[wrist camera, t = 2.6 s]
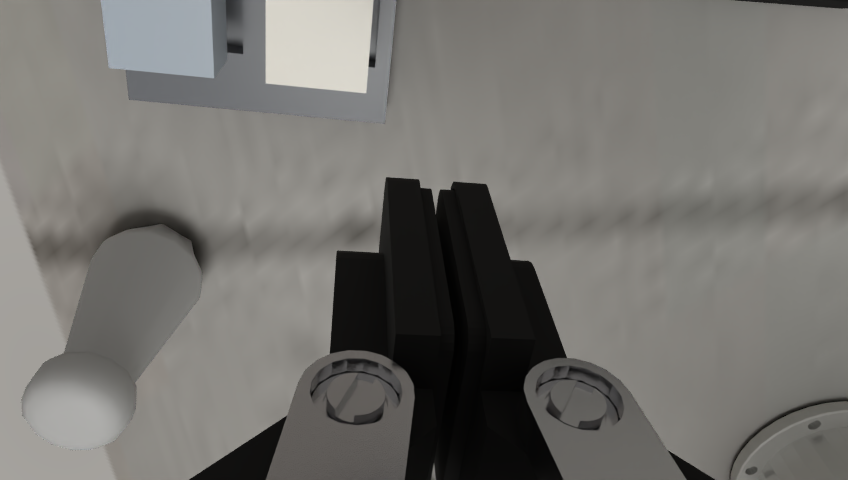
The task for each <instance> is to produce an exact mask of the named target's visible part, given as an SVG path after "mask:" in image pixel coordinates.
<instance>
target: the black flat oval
mask: <svg viewBox="0 0 848 480" xmlns="http://www.w3.org/2000/svg"><path fill="white" fill-rule="evenodd" d="M737 1H750V2H763V3H777V4H790V5H803V6H816V7H829V8H848V0H737Z"/></svg>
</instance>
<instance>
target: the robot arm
mask: <svg viewBox="0 0 848 480" xmlns="http://www.w3.org/2000/svg"><path fill="white" fill-rule="evenodd" d="M433 466H435V476H436V480H715V479H713V478H712V477H710V476H708V475H707V474H705V473H703V472H702V471H700V470H699V469H697V468H695V467H694V466H692V465H691V464H689V463H687V462H686V461H684V460H682V459H681V458H679V457H678V456H676V455H674V454H673V453H671V452H670V451H668V450H667V449H666V447H665V446H664V444H663V442H662V441H661V439H660V438H659V436H658V435H657V433H656V432H655V430H654V428H653V427H652V425H651V424H650V422H649V421H648V419H647V418H646V416H645V414H644V413H643V411H642V410H641V408H640V407H639V405H638V404H637V402H636V400H635V399H634V397H633V396H632V394H631V393H630V391H629V390H628V389H627V388H626V387H625V385H624V384H623V383H622V382H621V381H620V380H619V379H618V378H616V377H615V376H614V375H612V374H611V373H610V372H608V371H607V370H605V369H603V368H601V367H599V366H597V365H594V364H592V363H590V362H586V361H582V360H578V359H571V358H567V357H566V354H565V351H564V349H563V346H562V343H561V340H560V338H559V335H558V332H557V329H556V327H555V324H554V321H553V318H552V316H551V313H550V310H549V307H548V304H547V302H546V299H545V296H544V293H543V291H542V288H541V285H540V282H539V280H538V277H537V274H536V271H535V269H534V267H533V265H532V263H531V262H529V261H519V260H510V256H509V253H508V250H507V247H506V244H505V241H504V238H503V234H502V231H501V228H500V225H499V222H498V219H497V215H496V212H495V209H494V206H493V203H492V200H491V196H490V193H489V190H488V187H487V185H486V184H477V183H462V182H453V184H452V186H451V190H440V192H439V196H438V203H437V210H436V214H435V208H434V202H433V196H432V190H431V189H426V188H420V182H419V180H418V179H403V178H389V177H386V182H385V190H384V201H383V212H382V223H381V234H380V244H379V253H371V252H353V251H337V256H336V271H335V286H334V301H333V316H332V331H331V346H330V354H329V355H327V356H325V357H322V358H320V359H318V360H316V361H315V362H314V363H313V364H311V365H310V366H309V367H308V368H307V369H306V370H305V371H304V373H303V375H302V376H301V378H300V380H299V382H298V385H297V388H296V391H295V394H294V397H293V400H292V403H291V406H290V409H289V412H288V415H287V416H286V417H284V418H283V419H281V420H280V421H278V422H277V423H275V424H274V425H272V426H270V427H269V428H267V429H266V430H264V431H263V432H261V433H260V434H258V435H257V436H255V437H254V438H252V439H251V440H249V441H248V442H246V443H245V444H243V445H241V446H240V447H238V448H237V449H235V450H234V451H232V452H231V453H229V454H228V455H226V456H225V457H223V458H222V459H220V460H219V461H217V462H216V463H214V464H212V465H211V466H209V467H208V468H206V469H205V470H203V471H202V472H200V473H199V474H197V475H196V476H194V477H193V478H191V479H190V480H431V477H432V471H433ZM731 480H848V401H842V402H831V403H824V404H819V405H815V406H810V407H807V408H804V409H801V410H799V411H796V412H793V413H791V414H789V415H787V416H785V417H783V418H780V419H778V420H776V421H775V422H773V423H772V424H770V425H769V426H767V427H766V428H764V429H763V430H761V431H760V432H759V433H758V434H757V435H756V436H755V437H753V438H752V439H751V440H750V441H749V442H748V444H747V445H746V446H745V447H744V448H743V449H742V451H741V452H740V454H739V455H738V457H737V459H736V461H735V462H734V465H733V468H732V472H731Z"/></svg>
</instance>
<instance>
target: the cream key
mask: <svg viewBox="0 0 848 480" xmlns="http://www.w3.org/2000/svg"><path fill="white" fill-rule="evenodd" d="M373 2H374V0H266V84H276V85H286V86H296V87H306V88H316V89H326V90H337V91H347V92H357V93H366V91H367V79H368V66H369V53H370V40H371V27H372V14H373Z"/></svg>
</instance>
